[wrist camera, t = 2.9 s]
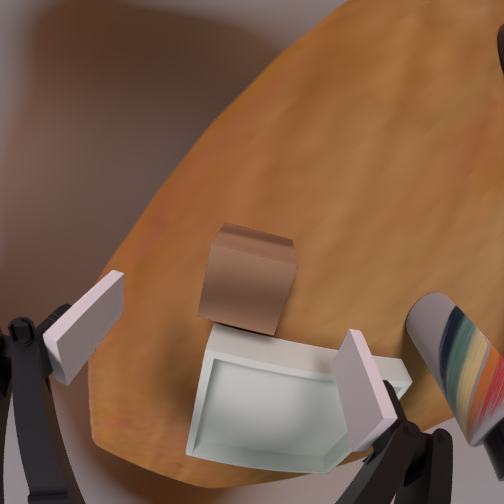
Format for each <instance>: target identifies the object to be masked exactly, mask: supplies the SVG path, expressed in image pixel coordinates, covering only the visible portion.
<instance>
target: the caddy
mask: <svg viewBox="0 0 504 504" xmlns="http://www.w3.org/2000/svg"><path fill="white" fill-rule="evenodd" d="M337 352H338V350H334V349H328V348H323V347H317V346H312V345H307V344H301V343H296V342H291V341H287V340H282V339H277V338H273V337H268V336H264V335H259V334H255V333H251V332H247V331H242V330H240V329H237V328H230V327H226V326H223V325H219V324H215V323H214V325H213V328H212V331H211V334H210V337H209V340H208V343H207V346H206V350H205V355H204V359H203V364H202V369H201V374H200V379H199V384H198V390H197V395H196V400H195V405H194V410H193V416H192V421H191V427H190V432H189V437H188V443H187V449H186V455H190V456H194V457H198V458H202V459H206V460H210V461H215V462H220V463H225V464H230V465H236V466H242V467H248V468H255V469H263V470H272V471H283V472H297V473H329V472H330V471H331V470H332V469H334V468H335V467H336V466H337V465H338V464H339V463H340V462H341V461H342V460H344V459H345V458H346V457H347V456H348V455H349V454H350V453H351V452H352V449H351V444H350V440H349V435H348V431H347V426H346V422H345V417H344V413H343V409H342V404H341V400H340V396H339V392H338V388H337V384H336V380H335V376H334V372H333V368H332V364H331V363H332V362H333V360H334V358H335V356H336V354H337ZM372 357H373V359H374V362H375V364H376V366H377V369H378V371H379V373H380V376H381V378H382V380H388V382H389V383H390V384H391V385H392V386H393V388H394V390H395V392H396V396H397V397H398V399H400V398H401V397H402V396H403V394H404V393H405V392H406V390H407V389H408V388H409V386H410V385H411V384H412V382H413V381H412V379H411V377H410V375H409V373H408V371H407V369H406V367H405V365H404V363H403V361H402V359H397V358H388V357H381V356H377V355H376V356H373V355H372Z"/></svg>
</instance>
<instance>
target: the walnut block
mask: <svg viewBox="0 0 504 504" xmlns="http://www.w3.org/2000/svg"><path fill="white" fill-rule="evenodd" d="M297 268H298V264H297V259H296V254H295V250H294V245H293V241H292V240H291V239H287V238H283V237H280V236H276V235H272V234H268V233H264V232H261V231H257V230H253V229H249V228H245V227H241V226H237V225H233V224H229V223H225V224H224V225H223V227H222V228H221V230H220V231H219V233H218V234H217V236H216V237H215V239H214V241H213V242H212V244H211V248H210V253H209V258H208V263H207V268H206V273H205V278H204V283H203V288H202V294H201V299H200V304H199V310H198V315H197V316H198V317H201V318H205V319H208V320H212V321H216V322H220V323H224V324H227V325H231V326H235V327H239V328H243V329H248V330H252V331H256V332H260V333H265V334H269V335H274V333H275V330H276V328H277V325H278V322H279V319H280V317H281V314H282V311H283V308H284V305H285V303H286V300H287V297H288V294H289V291H290V288H291V286H292V283H293V280H294V277H295V274H296V271H297Z"/></svg>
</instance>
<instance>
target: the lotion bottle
mask: <svg viewBox="0 0 504 504" xmlns="http://www.w3.org/2000/svg"><path fill="white" fill-rule="evenodd" d="M406 328H407V332H408V334H409V336H410V338H411V339H412V341H413V343H414V344H415V346H416V348H417V349H418V351H419V353H420V354H421V356H422V358H423V359H424V361H425V363H426V364H427V366H428V368H429V370H430V371H431V373H432V375H433V377H434V378H435V380H436V382H437V384H438V386H439V387H440V389H441V391H442V393H443V395H444V397H445V399H446V400H447V402H448V404H449V406H450V408H451V410H452V412H453V414H454V416H455V418H456V420H457V422H458V424H459V426H460V428H461V430H462V432H463V434H464V436H465V438H466V440H467V442H468V444H469V445H470V446H471V447H476V446H479V445H482V444H483V445H484V447H485V450H486V452H487V454H488V456H489V458H490V461H491V463H492V466H493V468H494V470H495V473H496V476H497V478H498V480H499V481H504V358H503V357H502V356H501V355H500V354H499V352H498V351H497V350H496V349H495V348H494V346H493V345H492V344H491V343H490V342H489V340H488V339H487V338H486V337H485V336H484V335H483V334H482V333H481V331H480V330H479V329H478V328H477V327H476V326H475V325H474V324H473V323H472V321H471V320H470V319H469V318H468V317H467V316H466V315H465V314H464V313H463V312H462V311H461V310H460V309H459V308H458V307H457V306H456V305H455V304H454V303H453V302H452V301H451V300H450V299H449V298H448V297H447V296H446V295H444V294H442V293H431V294H428V295H426V296H424V297H422V298H421V299H420V300H419V301H417V302H416V304H415V305H414V306H413V307H412V309H411V310H410V312H409V314H408V317H407V321H406Z"/></svg>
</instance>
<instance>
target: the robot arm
mask: <svg viewBox="0 0 504 504" xmlns="http://www.w3.org/2000/svg"><path fill="white" fill-rule="evenodd" d="M498 47H499V53H500V58H501V62H502V66H503V69H504V24H503V25H501V27H500V29H499V32H498ZM123 298H124V273H121V272H118V271H115V270H112V271H111V272H110V273H109V274H108V275H106V276H105V277H104V278H103V279H102V280H101V281H100V282H98V283H97V284H96V285H95V286H94V287H93V288H92V289H91V290H89V291H88V292H87V293H86V294H85V295H84V296H83V297H82V298H81V299H79V300H78V301H77V302H76V303H75V304H74V305H73V306H72V305H69V304H65V305H62V306H60V307H58V308H57V309H56V310H55V311H54V312H53V314H51V315H49V316H48V318H46V319H45V320H44V321H43V322H42V323H41V324H40V325H39V326H38V327H37V328H36V329H35V327H34V323H33V321H32V320H31V319H29V318H27V317H18V318H15V319H13V320H12V321H11V322H10V323H9V325H8V330H9V333H10V336H6V335H3V334H2V331H1V328H0V504H4V489H3V463H4V445H5V434H6V425H7V418H8V411H9V405H10V399H11V393H13V406H14V416H15V424H16V431H17V438H18V444H19V449H20V454H21V459H22V464H23V467H24V472H25V476H26V480H27V483H28V487H29V490H30V494H29V495H28V504H86V503H85V501H84V499H83V497H82V494H81V492H80V489H79V487H78V484H77V482H76V479H75V477H74V474H73V471H72V468H71V465H70V463H69V460H68V457H67V453H66V450H65V446H64V443H63V440H62V436H61V432H60V428H59V424H58V420H57V416H56V411H55V407H54V401H53V396H52V390H51V385H50V380H49V375H50V374H51V373H52V371H53V374H54V377H55V380H57V381H59V382H61V383H63V384H65V385H67V386H69V384H70V383H71V381H72V380H73V379H74V377H75V376H76V374H77V373H78V372H79V370H80V369H81V368H82V366H83V365H84V363H85V362H86V361H87V359H88V358H89V357H90V355H91V354H92V353H93V351H94V350H95V349H96V347H97V346H98V345H99V343H100V342H101V341H102V340H103V338H104V337H105V336H106V334H107V333H108V332H109V331H110V329H111V328H112V327H113V325H114V324H115V323H116V322H117V320H118V319H119V318H120V317H121V315H122V314H123ZM331 364H332V368H333V372H334V376H335V380H336V384H337V388H338V392H339V396H340V400H341V404H342V409H343V413H344V417H345V422H346V426H347V431H348V435H349V440H350V444H351V449H352V452H361V451H366V450H368V449H369V448H370V447H371V446H372V445H373V449H374V451H373V452H372V453H371V454H370V455H369V456H368V457H367V458H365V459H364V460H363V461H362V462H365V461H366V462H365V463H364V465H363V466H362V468H361V469H360V471H359V472H358V474H357V475H356V477H355V478H354V480H353V481H352V482H351V484H350V485H349V486H348V488H347V489H346V490H345V492H344V493H343V494H342V496H341V497H340V498H339V499H338V501H337V502H336V503H335V504H390V503H391V501H392V499H393V497H394V496H395V494H396V496H395V500H394V504H450V503H451V491H452V473H453V443H452V442H453V441H452V437H451V435H450V434H449V432H447V431H446V430H444V429H440V428H439V429H436V430H435V431H434V432H433V433H432V434H427V433H423V432H420V429H419V428H418V426H417V425H416V424H414V423H413V422H410V421H407V419H406V416H405V414H404V411H403V409H402V406H401V404H400V402H399V399H398V397H397V396H396V392H395V390H394V388H393V386H392V385H391V384H390V383H389V382H388V380H382V378H381V376H380V373H379V371H378V369H377V366H376V364H375V362H374V359H373V357H372V355H371V353H370V350H369V348H368V346H367V344H366V341H365V339H364V337H363V335H362V333H361V331H358V330H353V329H349V331H348V333H347V335H346V337H345V339H344V341H343V343H342V345H341V347H340V348H339V350H338V352H337V354H336V356H335V358H334V360H333V362H332V363H331Z"/></svg>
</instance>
